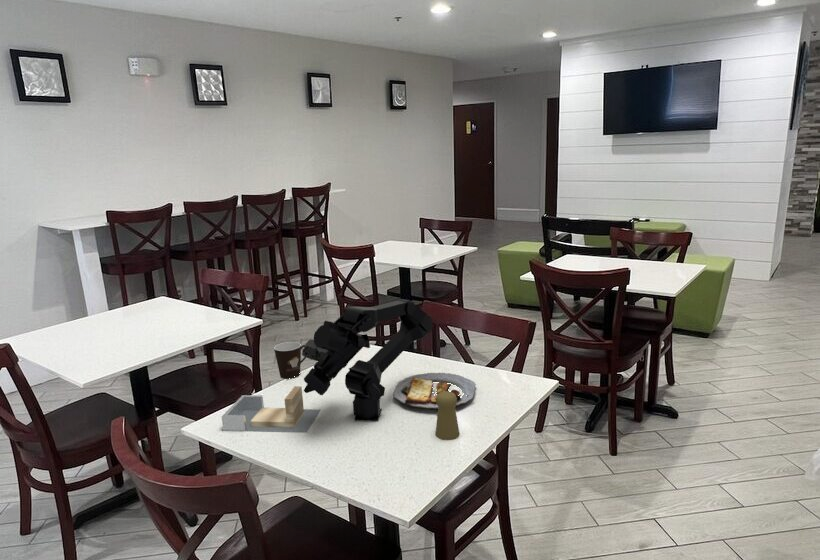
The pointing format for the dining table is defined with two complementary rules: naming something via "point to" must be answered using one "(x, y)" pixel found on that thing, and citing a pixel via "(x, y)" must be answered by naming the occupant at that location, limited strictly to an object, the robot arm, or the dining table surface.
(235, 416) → the frame
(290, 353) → the coffee mug
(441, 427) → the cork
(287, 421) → the menu stand
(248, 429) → the rubber mat
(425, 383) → the food plate
